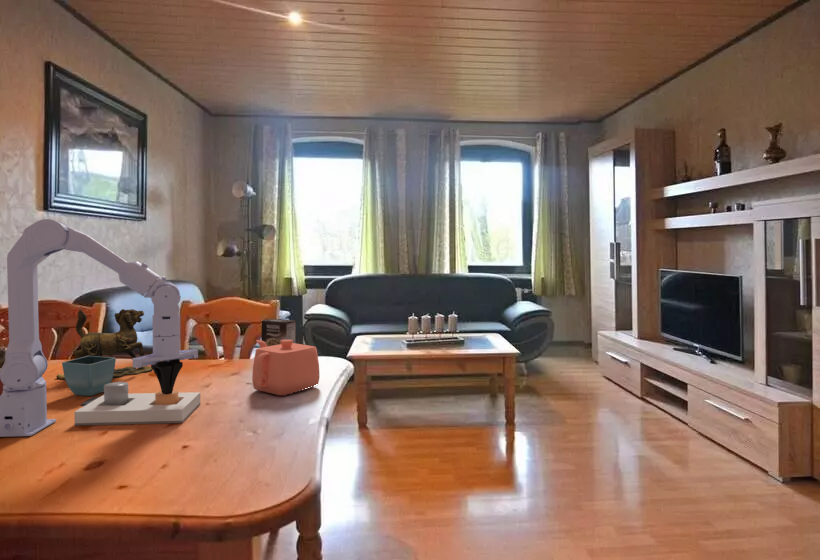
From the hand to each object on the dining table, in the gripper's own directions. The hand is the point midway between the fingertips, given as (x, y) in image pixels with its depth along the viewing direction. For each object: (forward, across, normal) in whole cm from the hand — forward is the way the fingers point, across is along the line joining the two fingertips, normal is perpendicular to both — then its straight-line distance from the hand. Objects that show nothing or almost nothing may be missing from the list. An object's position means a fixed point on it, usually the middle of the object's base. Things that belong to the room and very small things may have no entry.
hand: (167, 393), depth 118 cm
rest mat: (+5, +5, -22) cm, 23 cm away
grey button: (+2, +7, -8) cm, 11 cm away
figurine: (+5, -9, -50) cm, 52 cm away
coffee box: (+5, -46, -15) cm, 48 cm away
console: (+5, +4, -4) cm, 7 cm away
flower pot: (+5, +3, -32) cm, 32 cm away
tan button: (+4, 0, 0) cm, 4 cm away
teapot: (+5, -31, +2) cm, 32 cm away
